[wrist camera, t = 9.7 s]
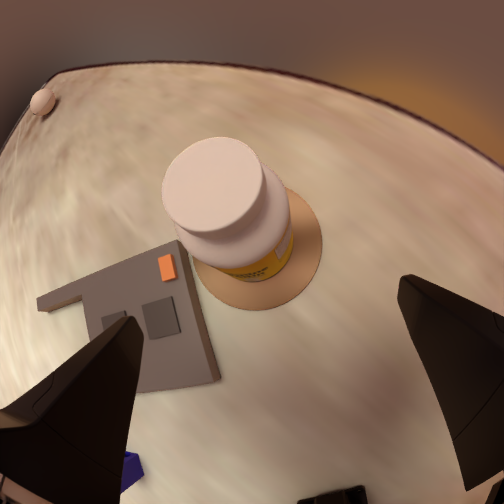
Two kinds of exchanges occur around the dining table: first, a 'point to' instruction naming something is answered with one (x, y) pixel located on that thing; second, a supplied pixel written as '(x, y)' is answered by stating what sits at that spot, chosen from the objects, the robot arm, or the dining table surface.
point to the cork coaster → (281, 284)
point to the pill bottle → (229, 209)
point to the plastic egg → (42, 102)
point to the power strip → (149, 314)
